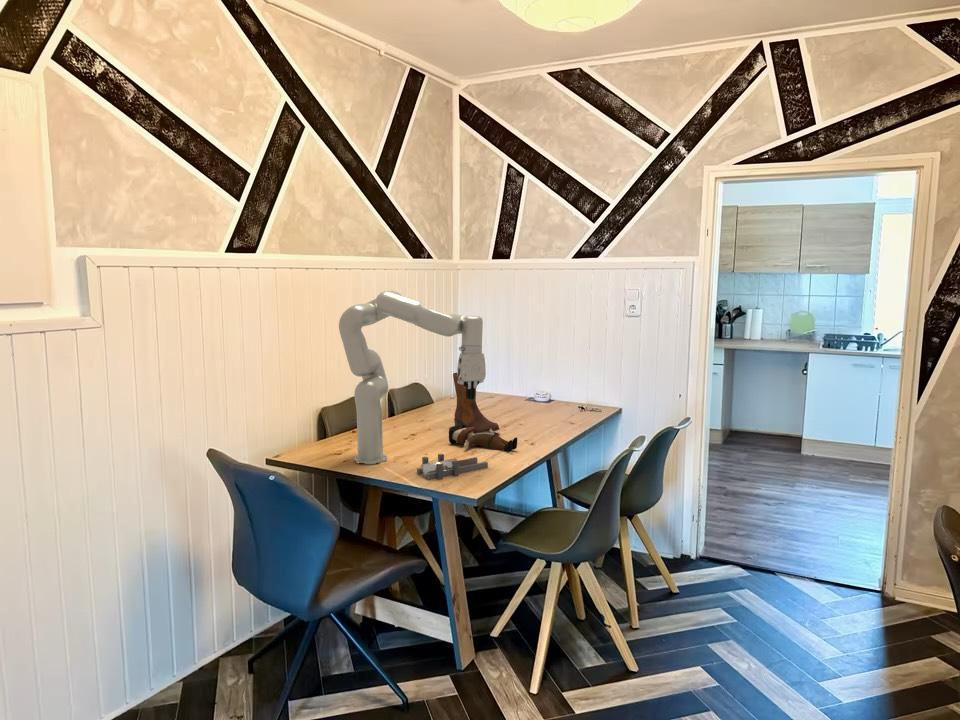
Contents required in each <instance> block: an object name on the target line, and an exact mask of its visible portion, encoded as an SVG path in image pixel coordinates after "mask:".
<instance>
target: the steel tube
mask: <svg viewBox="0 0 960 720" xmlns="http://www.w3.org/2000/svg"><path fill="white" fill-rule="evenodd" d="M454 460H457V461H458V459H457V458H451V459H446V460H445V459H444V461H438V460H437V461H434V462H428V463H427V464H422V463H421V466H420V468H421V474H422V476H423V477H426V474H427V473H432V472H436V464H439V463H441V464H443V470H447V469H452V461H454ZM423 477H422V478H423Z"/></svg>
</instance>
